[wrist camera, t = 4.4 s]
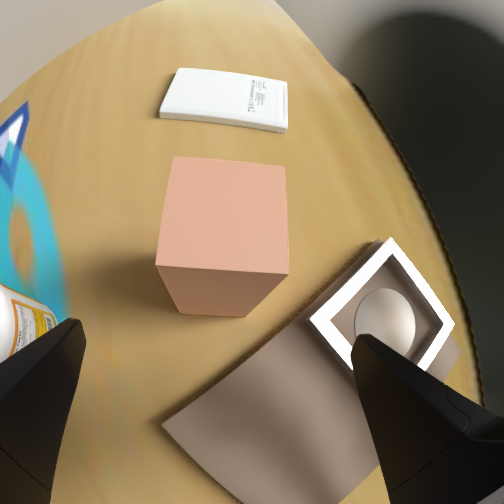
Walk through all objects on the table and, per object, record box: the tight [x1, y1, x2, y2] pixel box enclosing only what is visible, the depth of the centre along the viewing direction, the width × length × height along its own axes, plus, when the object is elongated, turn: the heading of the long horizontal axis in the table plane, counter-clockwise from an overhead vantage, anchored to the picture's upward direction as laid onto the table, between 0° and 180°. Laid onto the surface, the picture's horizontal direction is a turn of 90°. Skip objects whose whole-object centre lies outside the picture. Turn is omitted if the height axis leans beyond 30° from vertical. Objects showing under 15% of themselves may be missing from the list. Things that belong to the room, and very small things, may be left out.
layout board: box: [161, 237, 461, 504], centre depth 18 cm, size 22×14×2 cm, turn 130°
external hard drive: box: [159, 68, 288, 134], centre depth 27 cm, size 2×8×12 cm
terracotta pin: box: [155, 156, 289, 317], centre depth 15 cm, size 4×4×11 cm
